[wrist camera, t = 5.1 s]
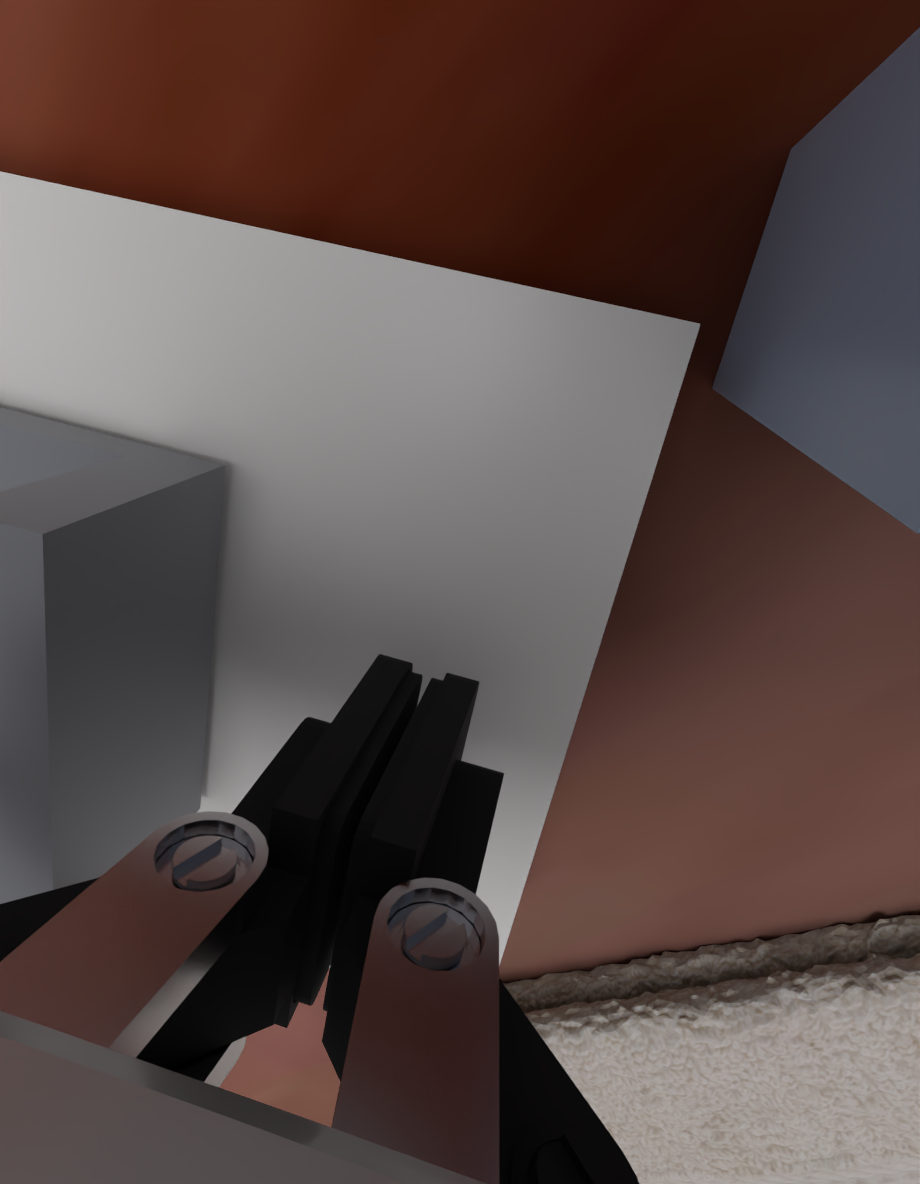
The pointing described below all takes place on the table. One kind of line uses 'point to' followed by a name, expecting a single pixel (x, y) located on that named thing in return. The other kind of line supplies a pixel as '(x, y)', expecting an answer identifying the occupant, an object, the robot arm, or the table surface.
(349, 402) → the socket block
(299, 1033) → the table surface
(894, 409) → the plug
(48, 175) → the table surface
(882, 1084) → the washcloth
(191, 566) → the block
